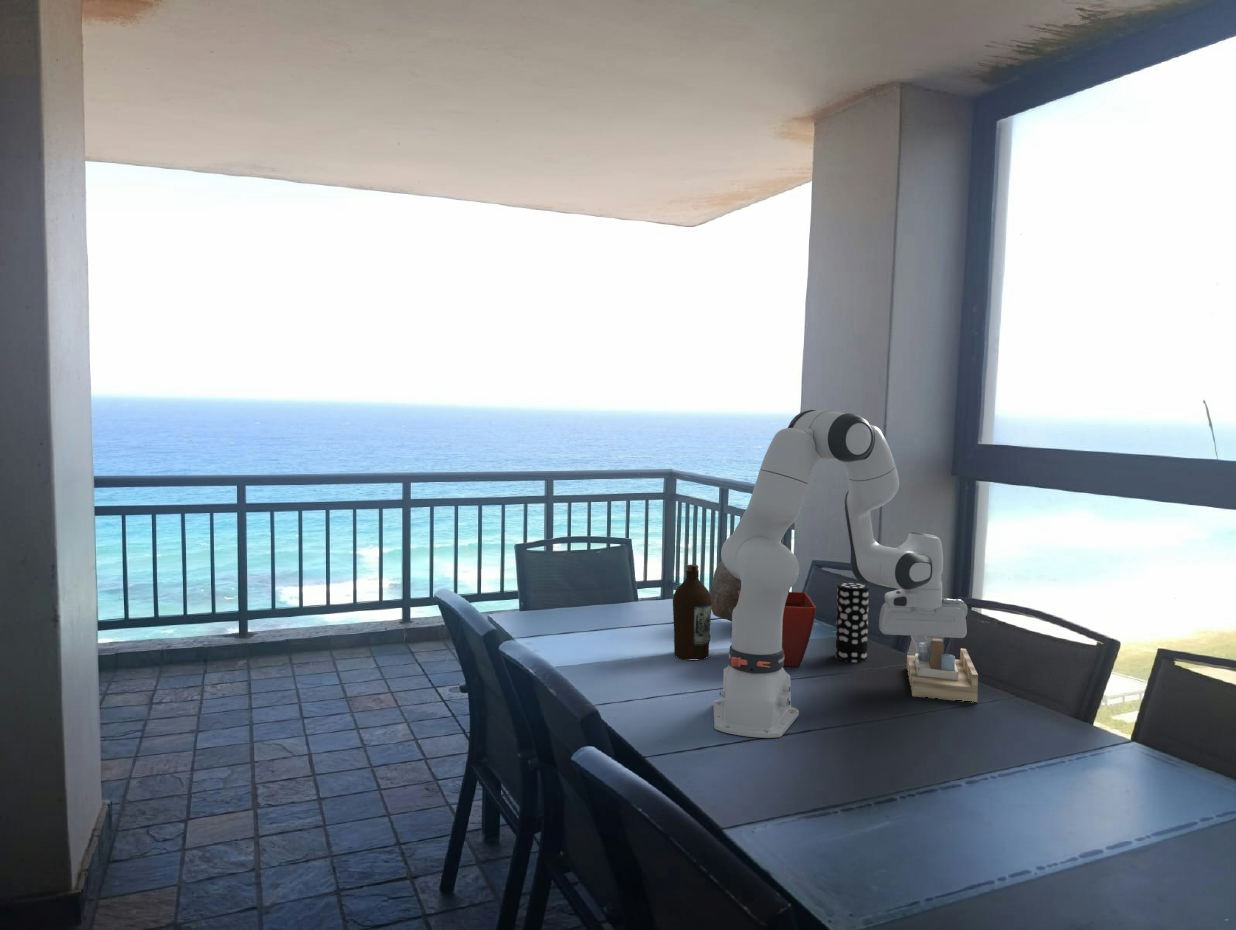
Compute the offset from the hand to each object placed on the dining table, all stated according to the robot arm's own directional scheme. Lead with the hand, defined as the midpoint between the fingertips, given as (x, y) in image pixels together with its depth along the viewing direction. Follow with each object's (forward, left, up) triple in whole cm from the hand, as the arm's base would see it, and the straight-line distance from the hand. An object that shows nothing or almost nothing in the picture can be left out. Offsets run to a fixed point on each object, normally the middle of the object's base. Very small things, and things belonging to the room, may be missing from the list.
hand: (921, 653), depth 193 cm
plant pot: (+8, +37, -8) cm, 38 cm away
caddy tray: (0, -3, -4) cm, 5 cm away
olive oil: (+4, +59, -8) cm, 59 cm away
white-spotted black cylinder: (+16, +17, -8) cm, 24 cm away
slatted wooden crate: (0, -4, -7) cm, 9 cm away
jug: (+37, +49, -8) cm, 61 cm away
